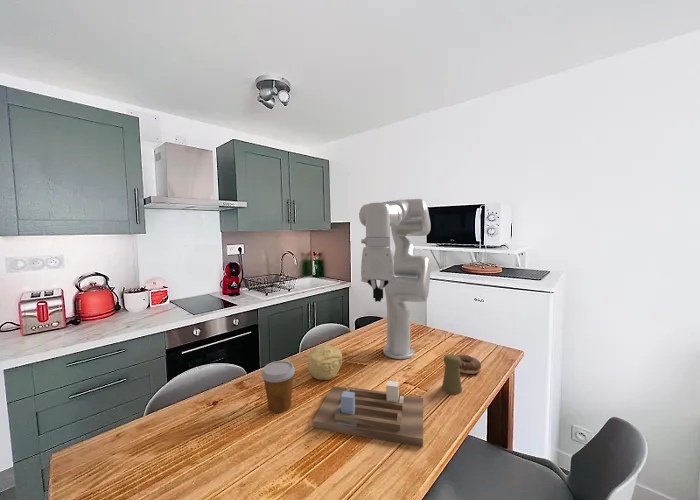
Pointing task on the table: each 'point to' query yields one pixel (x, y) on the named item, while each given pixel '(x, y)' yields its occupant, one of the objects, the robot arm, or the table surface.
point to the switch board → (373, 416)
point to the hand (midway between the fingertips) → (378, 300)
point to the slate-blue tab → (348, 402)
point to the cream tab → (392, 391)
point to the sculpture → (324, 362)
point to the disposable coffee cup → (278, 385)
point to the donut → (469, 364)
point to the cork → (452, 374)
